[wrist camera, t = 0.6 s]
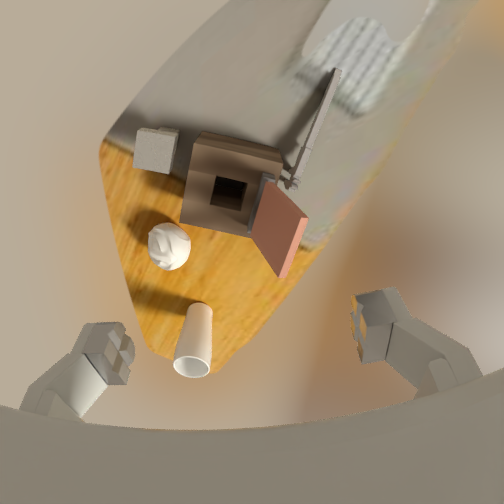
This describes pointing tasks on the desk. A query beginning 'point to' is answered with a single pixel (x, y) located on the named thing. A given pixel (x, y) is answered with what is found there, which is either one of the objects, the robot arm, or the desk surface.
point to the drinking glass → (195, 342)
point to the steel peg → (155, 149)
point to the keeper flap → (278, 228)
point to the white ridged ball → (168, 246)
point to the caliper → (312, 134)
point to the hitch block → (224, 198)
